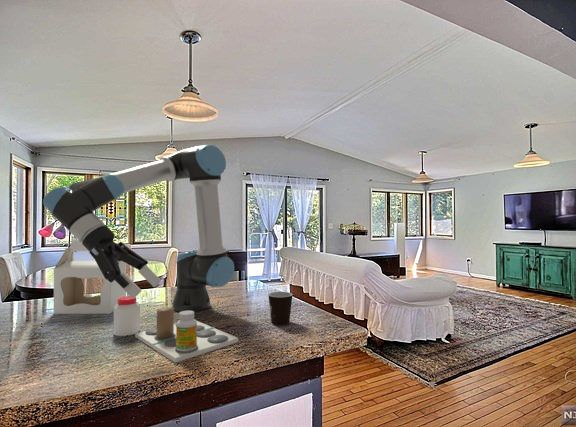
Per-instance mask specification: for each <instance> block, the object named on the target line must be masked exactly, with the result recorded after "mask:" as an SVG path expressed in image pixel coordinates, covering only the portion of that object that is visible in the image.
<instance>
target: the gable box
mask: <svg viewBox="0 0 576 427" xmlns="http://www.w3.org/2000/svg"><path fill="white" fill-rule="evenodd" d="M77 252H78V253H79V252H80V253H81V252H88V253H89V251H88V250H87V249H86V248H85V247H84V246H83V244H82V242H80V241H79V240H78V239H76V240H75V239H73V240H72V241H71V242H70V247H65V248H64V252H63V254H62V256H61V258H60V259H59V261H58V262H57V264H56V265H55V267H54V269H53V315H91V314H92V315H93V314H95V315H98V314H99V315H100V314H101V315H104V314H105V315H106V314H108V315H109V314H110V315H111V314H112V313H113V314H114V306H115V305H116V304H118V298H120V297H125V296H127V292H126V291H125V290H124V289H123V288H122V287H121V286H120V285H119V284H118V283H117V282H116V281H115V280H114V281H113V282H112V283H111V282H109V281H108V280H107V279H105V277H104V275H103V274H102V272H101V270H100V268H99V266H98V265H97V263H96V261H95V260H75V257H74V256H75V254H74V253H77ZM117 262H118V265H119V268H120V271H121V274H122V273H125V274H126V275H127V263H125V262H123V261H117ZM107 273H109V272H107ZM94 278H95V279H96V278H97V279H102V280H103V284H102V287H101V290H100V294H99V295H94V296H90V297H87V296H85V295H84V291H85V287H84V283H83V280H82V279H85V280H87V279H94Z"/></svg>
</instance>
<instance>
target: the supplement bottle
mask: <svg viewBox="0 0 576 427" xmlns="http://www.w3.org/2000/svg"><path fill="white" fill-rule="evenodd" d="M178 318H179V320H177V322H176V323H177V325H176V349H177V350H178V351H183V352H184V351H191V350H193V349H195V348H196V346H197V321H198V320H196V319H195V311H182V312H180V311H179V314H178Z"/></svg>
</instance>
